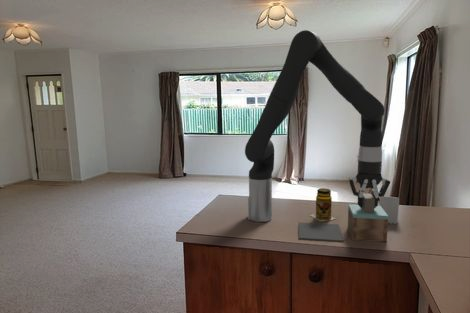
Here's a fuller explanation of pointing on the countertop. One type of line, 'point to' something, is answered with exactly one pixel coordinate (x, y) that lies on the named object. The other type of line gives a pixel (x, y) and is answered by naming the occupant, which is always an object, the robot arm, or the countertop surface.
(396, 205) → the grey rectangular block
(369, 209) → the lid
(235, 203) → the countertop surface
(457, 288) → the countertop surface
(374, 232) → the storage box
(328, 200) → the condiment
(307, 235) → the mat
